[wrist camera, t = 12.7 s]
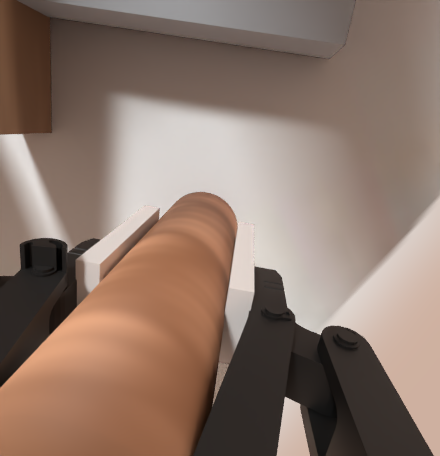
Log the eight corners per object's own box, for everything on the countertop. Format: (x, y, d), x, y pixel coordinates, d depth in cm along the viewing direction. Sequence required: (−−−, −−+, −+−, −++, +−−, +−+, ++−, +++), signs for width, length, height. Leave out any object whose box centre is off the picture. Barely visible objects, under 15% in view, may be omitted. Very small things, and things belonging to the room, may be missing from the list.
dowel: (163, 253, 19) (-48, 567, 6) (170, 186, 17) (-84, 390, 4) (231, 265, 19) (178, 619, 5) (243, 198, 17) (211, 451, 4)
